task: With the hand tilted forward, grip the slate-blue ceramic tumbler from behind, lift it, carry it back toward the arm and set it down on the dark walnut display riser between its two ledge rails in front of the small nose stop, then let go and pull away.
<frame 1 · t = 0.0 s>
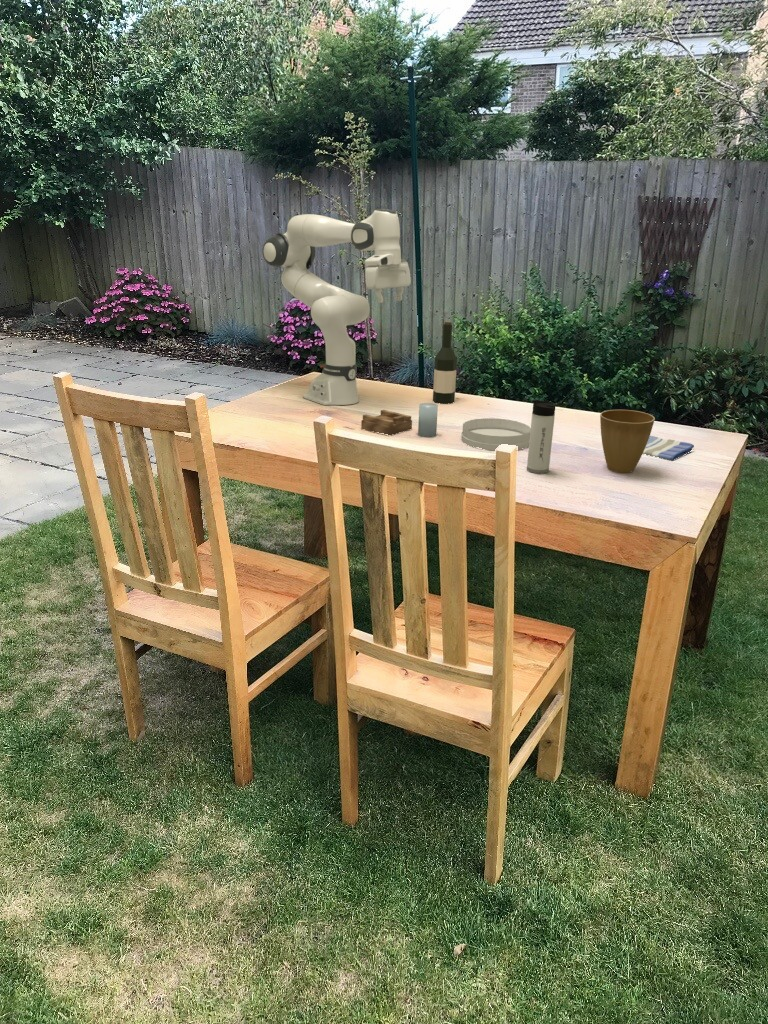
hand: (390, 301, 270), 39 cm above the table, tool pointing down, fingers open, 8 cm apart
wine bottle: (443, 402, 301), on the table
tumbler: (427, 435, 257), on the table
dish towel: (648, 449, 250), on the table
dish: (495, 442, 252), on the table
plant pot: (619, 469, 228), on the table
travel mug: (537, 470, 225), on the table
riser: (386, 429, 262), on the table
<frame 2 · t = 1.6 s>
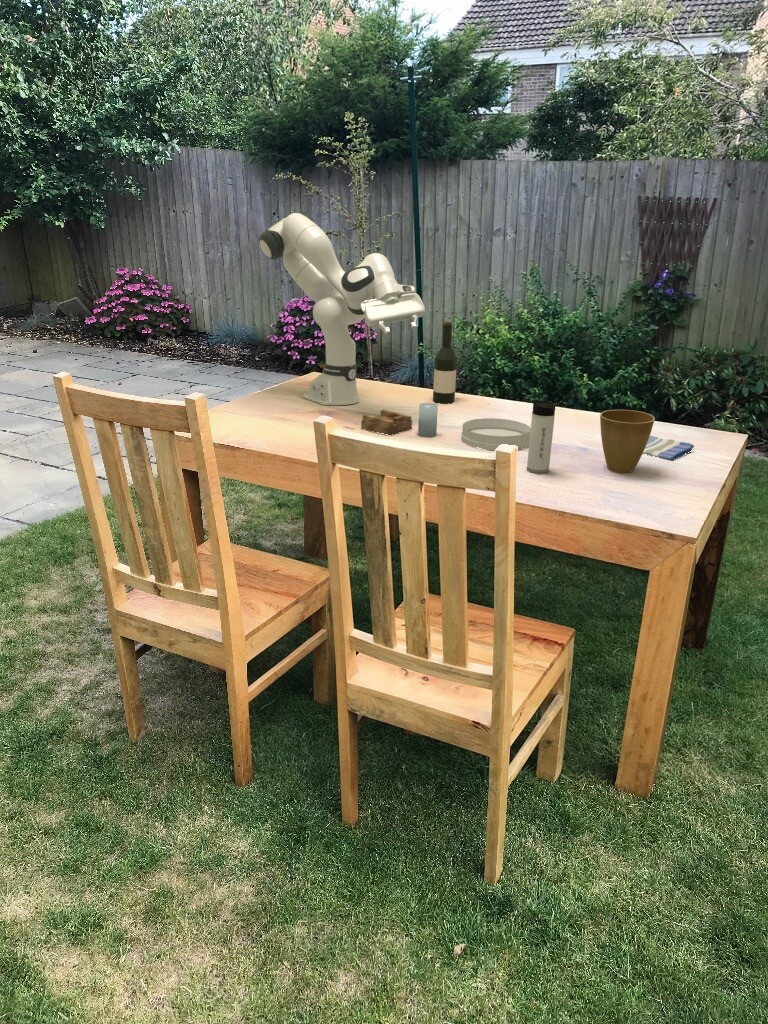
hand: (401, 330, 257), 31 cm above the table, tool tilted 45°, fingers open, 8 cm apart
nothing on the table moved.
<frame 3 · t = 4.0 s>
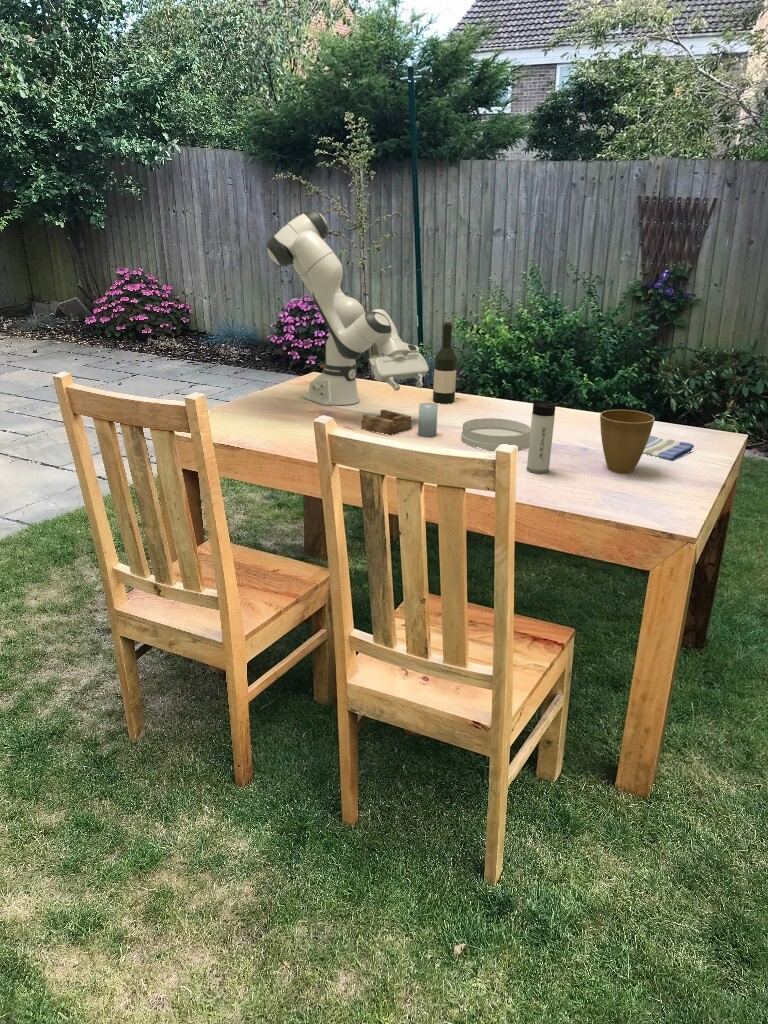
hand: (409, 388, 259), 14 cm above the table, tool tilted 45°, fingers open, 8 cm apart
nothing on the table moved.
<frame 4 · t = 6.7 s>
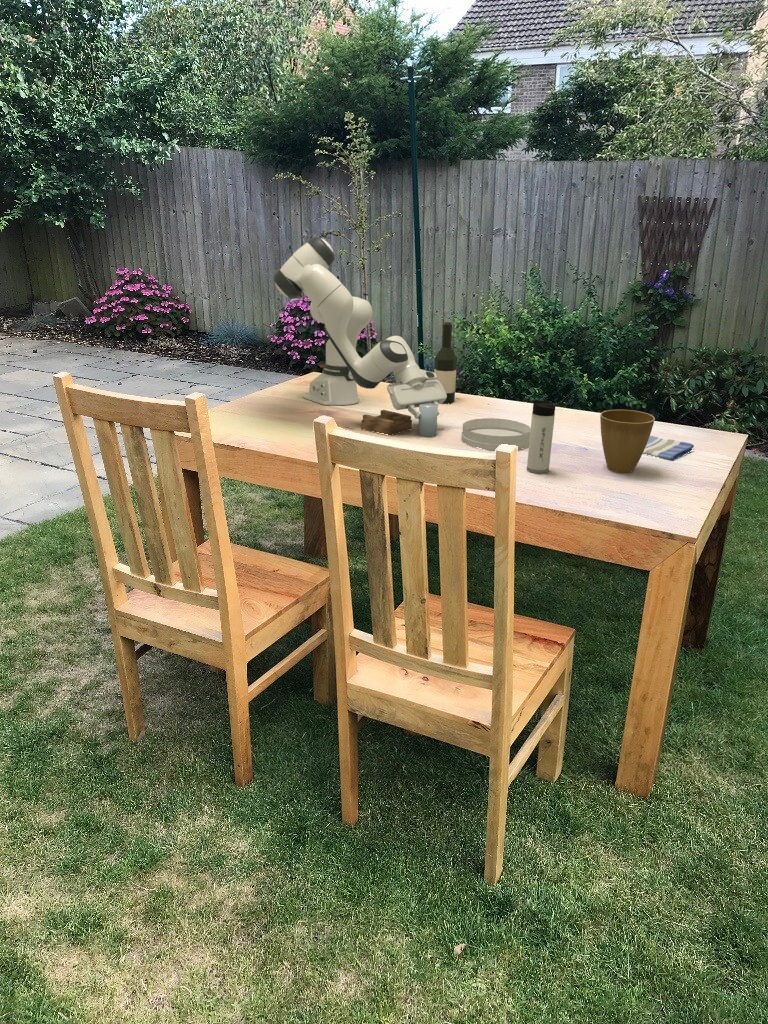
hand: (427, 416, 254), 6 cm above the table, tool tilted 45°, fingers closed on tumbler, 6 cm apart
tumbler: (427, 434, 257), on the table, touching gripper
everything else where it was.
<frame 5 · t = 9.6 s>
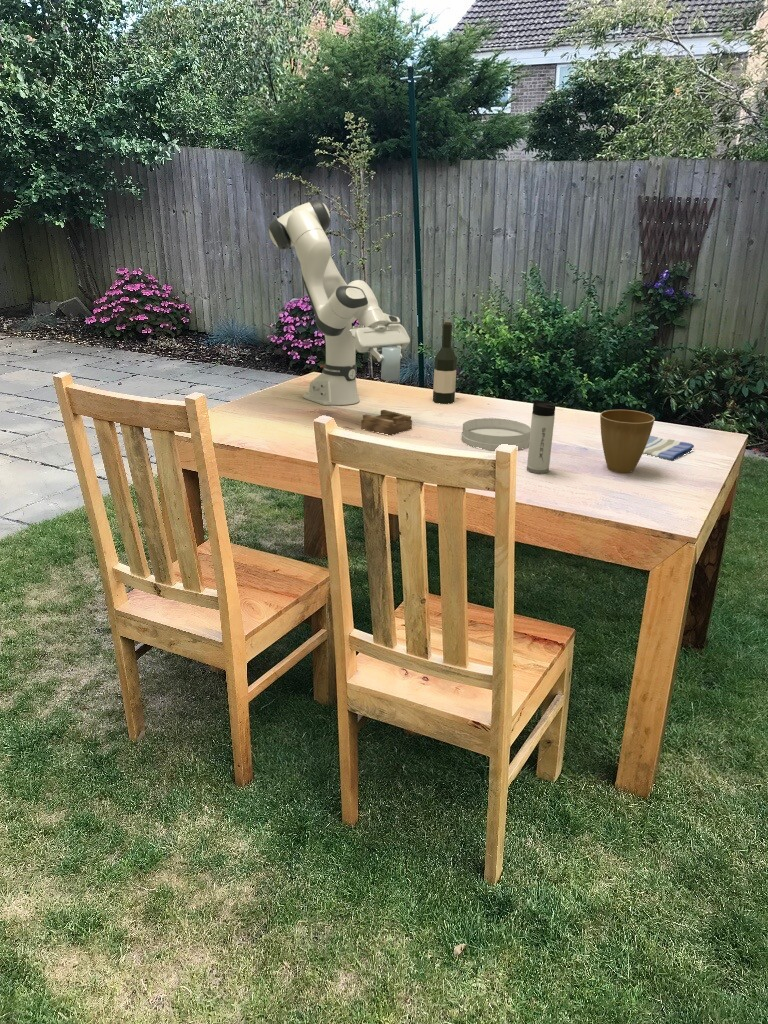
hand: (390, 359, 254), 23 cm above the table, tool tilted 45°, fingers closed on tumbler, 6 cm apart
tumbler: (390, 378, 256), point 17 cm above the table, touching gripper
everything else where it was.
when the fingers open (11 cm above the table, at t = 12.6 s): tumbler drops 2 cm, resting on riser.
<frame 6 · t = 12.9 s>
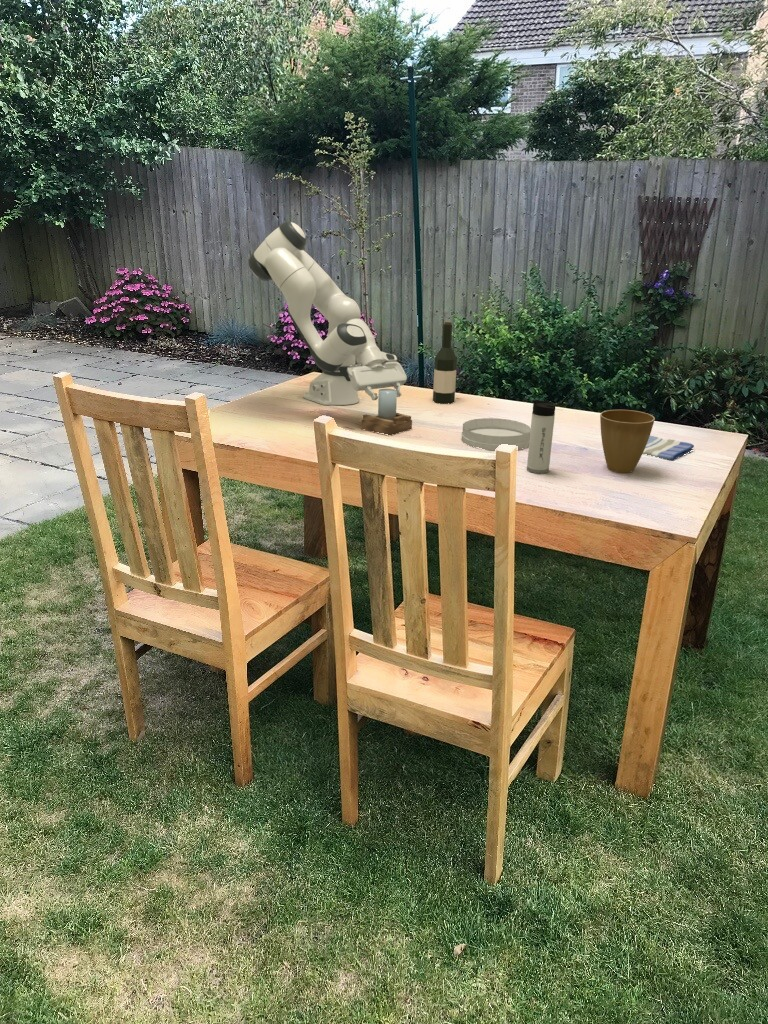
hand: (387, 397, 258), 11 cm above the table, tool tilted 45°, fingers open, 8 cm apart
tumbler: (386, 420, 261), point 3 cm above the table, touching riser
everything else where it was.
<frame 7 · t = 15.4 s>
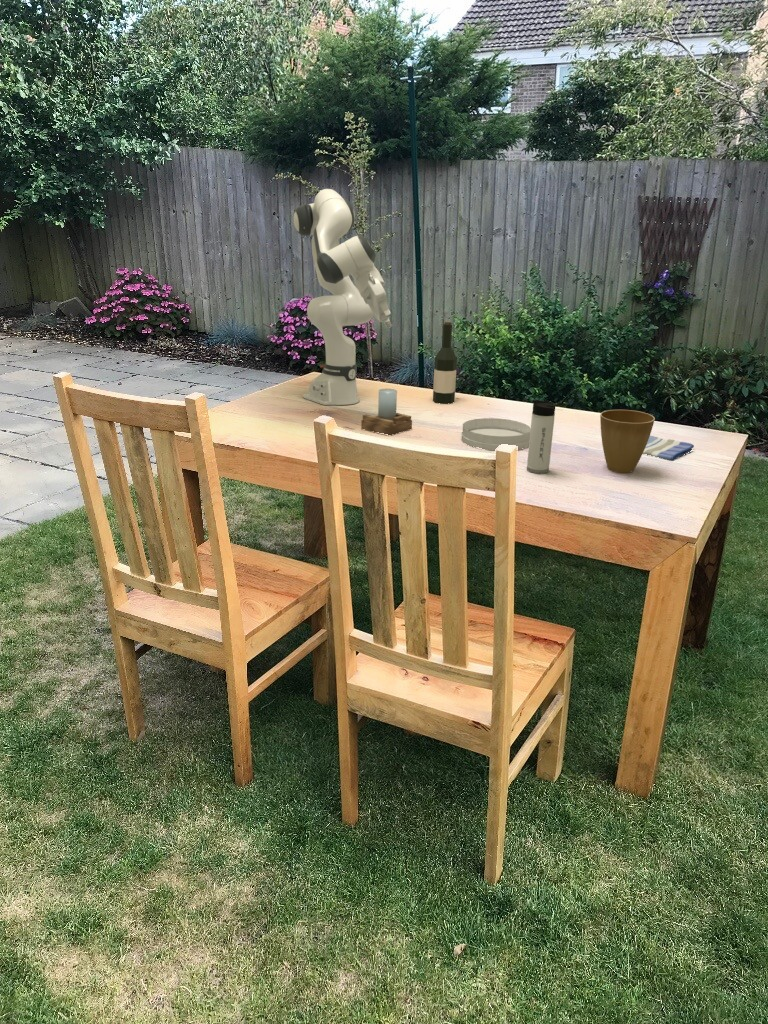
hand: (389, 321, 255), 35 cm above the table, tool tilted 40°, fingers open, 8 cm apart
nothing on the table moved.
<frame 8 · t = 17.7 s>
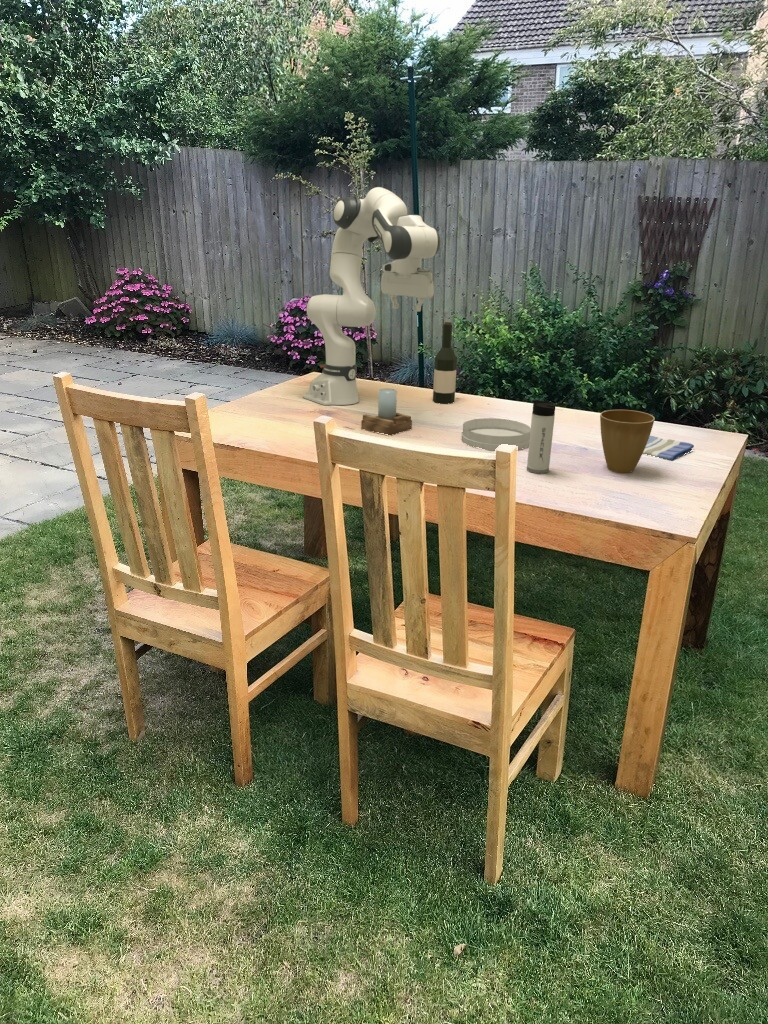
hand: (406, 309, 263), 37 cm above the table, tool pointing down, fingers open, 8 cm apart
nothing on the table moved.
at the end: tumbler 0.0 cm off-centre on the riser, point 3.0 cm above the riser's base; tumbler tilted 1°; the gripper is holding nothing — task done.
